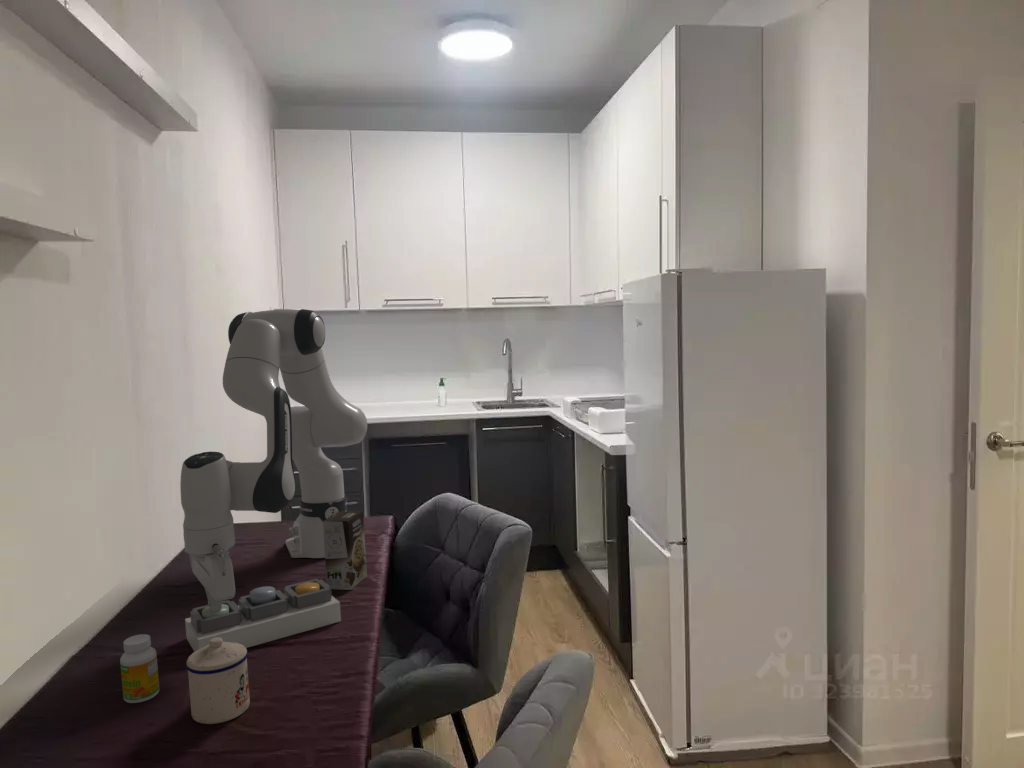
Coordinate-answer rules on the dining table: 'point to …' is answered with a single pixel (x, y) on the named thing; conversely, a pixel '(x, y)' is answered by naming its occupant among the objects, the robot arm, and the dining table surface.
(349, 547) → the coffee box
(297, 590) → the orange button
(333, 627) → the dining table surface
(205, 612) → the sage button
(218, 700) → the teacup with lid
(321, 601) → the button console
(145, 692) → the supplement bottle
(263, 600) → the slate button
